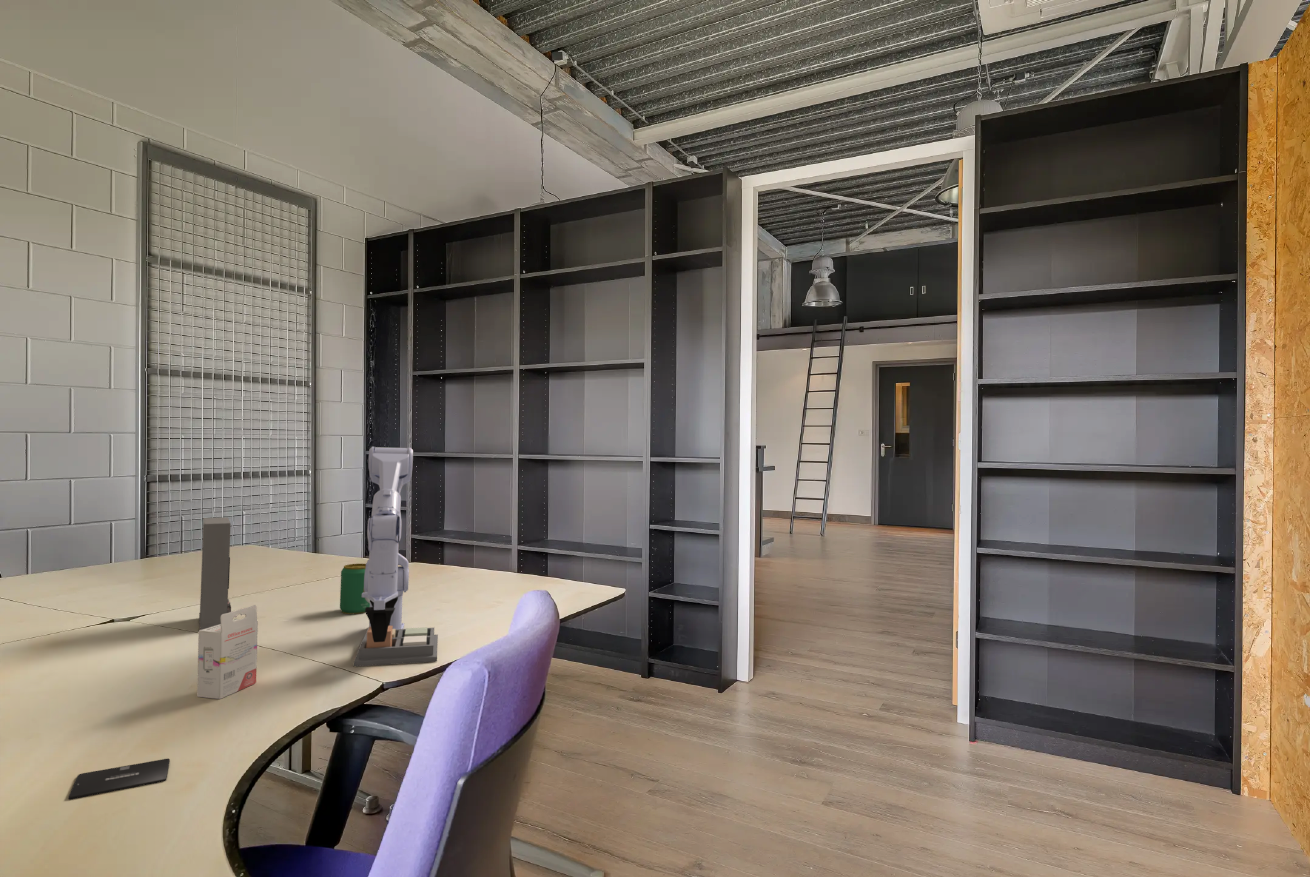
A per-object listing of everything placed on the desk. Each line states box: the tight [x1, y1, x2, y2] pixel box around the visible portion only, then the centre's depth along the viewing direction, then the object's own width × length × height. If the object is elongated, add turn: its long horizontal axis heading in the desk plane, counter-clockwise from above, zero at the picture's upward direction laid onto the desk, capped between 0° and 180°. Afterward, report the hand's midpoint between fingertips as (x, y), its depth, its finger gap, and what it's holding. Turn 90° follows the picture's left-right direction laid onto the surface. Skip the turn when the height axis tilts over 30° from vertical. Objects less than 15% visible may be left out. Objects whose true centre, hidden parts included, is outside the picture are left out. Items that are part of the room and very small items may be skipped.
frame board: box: [353, 627, 439, 667], centre depth 148 cm, size 17×16×4 cm
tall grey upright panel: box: [198, 517, 232, 630], centre depth 166 cm, size 14×6×25 cm, turn 34°
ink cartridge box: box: [196, 604, 259, 700], centre depth 123 cm, size 9×5×15 cm, turn 168°
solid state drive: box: [67, 758, 171, 800], centre depth 91 cm, size 7×10×1 cm
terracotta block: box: [366, 626, 393, 648], centre depth 144 cm, size 5×5×5 cm
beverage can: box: [339, 563, 370, 615], centre depth 182 cm, size 8×8×12 cm
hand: (381, 636), depth 144 cm, fingers open, 7 cm apart
